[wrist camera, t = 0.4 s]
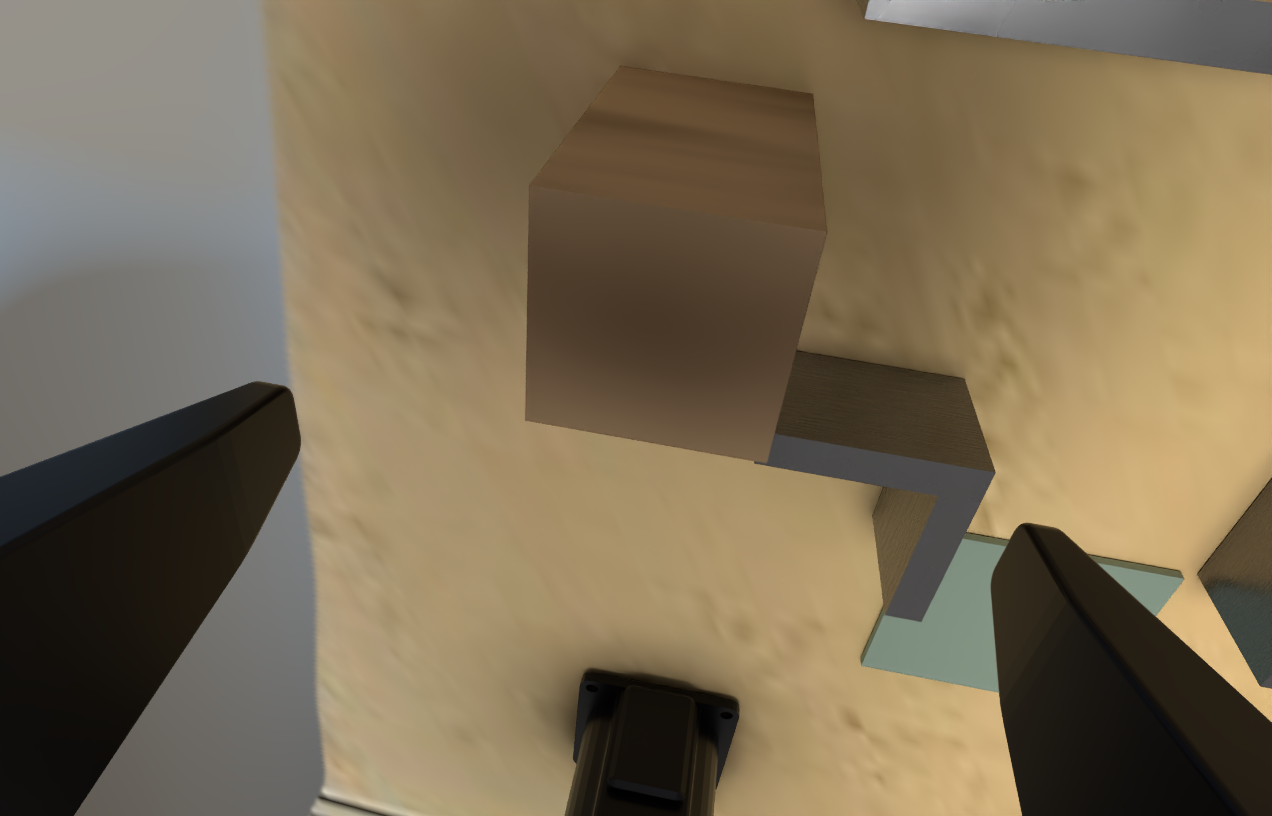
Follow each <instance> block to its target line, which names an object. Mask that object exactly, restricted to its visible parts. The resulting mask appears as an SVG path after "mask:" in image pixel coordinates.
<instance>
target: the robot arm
mask: <svg viewBox="0 0 1272 816" xmlns="http://www.w3.org/2000/svg"><path fill="white" fill-rule="evenodd" d="M300 446H301V436H300V430H299V424H298V419H297V413H296V408H295V402H294V397H293V394H292V392H291V391H290V389H289V388H287V387H286V386H283V385H277V384H271V383H266V382H260V381H258V382H257V381H256V382H252V383H249V384H246V385H243V386H241V387H238V388H235V389H233V390H230V391H228V392H225V393H222V394H220V395H217V396H214V397H212V398H209V399H206V400H204V401H201V402H198V403H196V404H193V405H190V406H188V407H185V408H182V409H180V410H177V411H174V412H172V413H169V414H166V415H164V416H161V417H158V418H156V419H153V420H151V421H148V422H145V423H142V424H140V425H137V426H134V427H132V428H129V429H126V430H124V431H121V432H118V433H116V434H113V435H110V436H108V437H105V438H102V439H100V440H97V441H95V442H92V443H89V444H86V445H84V446H81V447H79V448H76V449H73V450H70V451H68V452H65V453H63V454H60V455H57V456H54V457H52V458H49V459H46V460H44V461H41V462H38V463H36V464H33V465H31V466H28V467H25V468H23V469H20V470H17V471H14V472H12V473H9V474H7V475H4V476H1V477H0V816H74V815H75V813H76V812H77V810H78V809H79V807H80V806H81V804H82V802H83V801H84V800H85V798H86V797H87V795H88V794H89V792H90V791H91V789H92V788H93V786H94V785H95V783H96V782H97V780H98V778H99V777H100V775H101V774H102V773H103V771H104V770H105V768H106V766H107V765H108V764H109V762H110V760H111V759H112V758H113V756H114V754H115V753H116V752H117V750H118V749H119V747H120V745H121V744H122V742H123V741H124V739H125V738H126V736H127V735H128V733H129V732H130V730H131V729H132V727H133V726H134V724H135V723H136V721H137V720H138V718H139V717H140V715H141V714H142V712H143V711H144V709H145V708H146V706H147V705H148V703H149V702H150V700H151V699H152V697H153V696H154V694H155V693H156V691H157V690H158V688H159V686H160V685H161V684H162V682H163V681H164V679H165V678H166V676H167V675H168V673H169V672H170V670H171V669H172V667H173V666H174V664H175V663H176V661H177V660H178V658H179V657H180V655H181V654H182V652H183V651H184V649H185V648H186V646H187V645H188V643H189V642H190V640H191V639H192V637H193V636H194V634H195V633H196V631H197V630H198V628H199V627H200V625H201V624H202V622H203V621H204V619H205V618H206V616H207V615H208V613H209V612H210V610H211V609H212V607H213V606H214V604H215V603H216V601H217V600H218V598H219V597H220V595H221V594H222V592H223V590H224V589H225V588H226V586H227V585H228V583H229V582H230V580H231V579H232V577H233V576H234V574H235V572H236V571H237V569H238V568H239V566H240V565H241V563H242V561H243V560H244V558H245V557H246V555H247V553H248V552H249V550H250V548H251V546H252V544H253V543H254V541H255V539H256V537H257V535H258V533H259V531H260V529H261V527H262V526H263V523H264V522H265V520H266V518H267V516H268V514H269V512H270V510H271V508H272V506H273V504H274V502H275V500H276V498H277V496H278V494H279V492H280V490H281V488H282V487H283V485H284V483H285V481H286V479H287V477H288V475H289V473H290V471H291V469H292V467H293V465H294V463H295V461H296V459H297V457H298V454H299V451H300ZM990 588H991V602H992V615H993V627H994V639H995V652H996V664H997V676H998V688H999V697H1000V706H1001V711H1002V717H1003V723H1004V728H1005V733H1006V738H1007V743H1008V748H1009V753H1010V758H1011V763H1012V768H1013V772H1014V777H1015V782H1016V787H1017V792H1018V797H1019V802H1020V807H1021V812H1022V816H1272V722H1271V721H1270V720H1269V719H1267V718H1266V717H1265V716H1264V715H1263V714H1262V713H1261V712H1260V711H1259V710H1258V709H1256V708H1255V707H1254V706H1253V705H1252V704H1251V703H1250V702H1249V701H1248V700H1247V699H1246V698H1244V697H1243V696H1242V695H1241V694H1240V693H1239V692H1238V691H1237V690H1236V689H1235V688H1233V687H1232V686H1231V685H1230V684H1229V683H1228V682H1227V681H1226V680H1225V679H1224V678H1223V677H1221V676H1220V675H1219V674H1218V673H1217V672H1216V671H1215V670H1214V669H1213V668H1212V667H1210V666H1209V665H1208V664H1207V663H1206V662H1205V661H1204V660H1203V659H1202V658H1201V657H1200V656H1198V655H1197V654H1196V653H1195V652H1194V651H1193V650H1192V649H1191V648H1190V647H1189V646H1187V645H1186V644H1185V643H1184V642H1183V641H1182V640H1181V639H1180V638H1179V637H1178V636H1176V635H1175V634H1174V633H1173V632H1172V631H1171V630H1170V629H1169V628H1168V627H1167V626H1166V625H1164V624H1163V623H1162V622H1161V621H1160V620H1159V619H1158V618H1157V617H1156V616H1155V615H1153V614H1152V613H1151V612H1150V611H1149V610H1148V609H1147V608H1146V607H1145V606H1144V605H1143V604H1141V603H1140V602H1139V601H1138V600H1137V599H1136V598H1135V597H1134V596H1133V595H1132V594H1130V593H1129V592H1128V591H1127V590H1126V589H1125V588H1124V587H1123V586H1122V585H1121V584H1120V583H1118V582H1117V581H1116V580H1115V579H1114V578H1113V577H1112V576H1111V575H1110V574H1109V573H1107V572H1106V571H1105V570H1104V569H1103V568H1102V567H1101V566H1100V565H1099V564H1098V563H1097V562H1095V561H1094V560H1093V559H1092V558H1091V557H1090V556H1089V555H1088V554H1087V553H1086V552H1084V551H1083V550H1082V549H1081V548H1080V547H1079V546H1078V545H1077V544H1076V543H1075V542H1073V541H1072V540H1071V539H1070V538H1069V537H1068V536H1067V535H1066V534H1065V533H1063V532H1062V531H1061V530H1059V529H1057V528H1054V527H1049V526H1044V525H1038V524H1033V523H1023V524H1021V525H1019V526H1018V527H1017V528H1016V530H1015V531H1014V533H1013V535H1012V537H1011V538H1010V540H1009V542H1008V544H1007V546H1006V548H1005V550H1004V551H1003V553H1002V555H1001V557H1000V559H999V561H998V562H997V564H996V566H995V568H994V571H993V574H992V578H991V586H990ZM738 719H739V705H738V704H737V703H736V702H735V701H732V700H729V699H724V698H719V697H714V696H709V695H704V694H699V693H694V692H689V691H684V690H679V689H674V688H669V687H664V686H659V685H654V684H649V683H644V682H639V681H634V680H629V679H624V678H619V677H614V676H609V675H604V674H599V673H593V672H589V673H585V674H584V675H583V676H582V679H581V683H580V689H579V700H578V710H577V721H576V731H575V742H574V753H573V760H574V762H575V763H576V768H575V773H574V777H573V781H572V786H571V790H570V794H569V799H568V803H567V807H566V812H565V816H713V814H714V801H715V790H716V789H717V786H718V783H719V780H720V777H721V773H722V770H723V767H724V764H725V761H726V758H727V754H728V751H729V748H730V745H731V742H732V738H733V735H734V732H735V729H736V726H737V722H738Z"/></svg>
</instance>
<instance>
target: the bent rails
mask: <svg viewBox="0 0 1272 816" xmlns="http://www.w3.org/2000/svg"><path fill="white" fill-rule="evenodd" d="M856 1H857V3H858V5H859V8H860V10H861V12H862V14H863V17H864V19H869V20H877V21H884V22H891V23H898V24H906V25H913V26H920V27H928V28H935V29H942V30H950V31H957V32H964V33H971V34H979V35H986V36H993V37H1001V38H1008V39H1015V40H1022V41H1030V42H1037V43H1044V44H1052V45H1059V46H1066V47H1074V48H1081V49H1088V50H1095V51H1103V52H1110V53H1117V54H1125V55H1132V56H1139V57H1147V58H1154V59H1161V60H1168V61H1176V62H1183V63H1190V64H1198V65H1205V66H1212V67H1220V68H1227V69H1234V70H1241V71H1249V72H1256V73H1263V74H1271V75H1272V0H856ZM754 463H755V464H761V465H766V466H772V467H777V468H783V469H789V470H794V471H800V472H805V473H811V474H817V475H822V476H828V477H834V478H839V479H845V480H850V481H856V482H862V483H867V484H873V485H878V486H884V488H883V490H882V493H881V495H880V498H879V500H878V503H877V506H876V508H875V511H874V513H873V524H874V532H875V540H876V548H877V556H878V564H879V572H880V580H881V587H882V595H883V603H884V611H885V615H886V616H892V617H897V618H902V619H908V620H913V621H918V622H922V620H923V618H924V616H925V614H926V612H927V610H928V608H929V606H930V604H931V602H932V600H933V598H934V596H935V594H936V592H937V590H938V588H939V586H940V584H941V582H942V580H943V578H944V576H945V574H946V572H947V570H948V567H949V565H950V563H951V561H952V559H953V557H954V555H955V553H956V551H957V549H958V547H959V545H960V543H961V541H962V539H963V537H964V535H965V533H966V531H967V529H968V527H969V525H970V523H971V521H972V519H973V517H974V515H975V513H976V511H977V509H978V507H979V505H980V503H981V501H982V499H983V497H984V495H985V493H986V491H987V489H988V487H989V485H990V483H991V481H992V479H993V477H994V475H995V473H996V472H995V469H994V466H993V463H992V460H991V457H990V454H989V451H988V448H987V445H986V442H985V439H984V436H983V433H982V430H981V427H980V424H979V421H978V418H977V415H976V412H975V409H974V406H973V403H972V400H971V397H970V394H969V391H968V388H967V385H966V382H965V379H961V378H955V377H949V376H943V375H937V374H931V373H925V372H919V371H913V370H907V369H901V368H895V367H889V366H883V365H877V364H871V363H865V362H859V361H853V360H847V359H841V358H835V357H829V356H823V355H817V354H811V353H805V352H799V351H796V353H795V357H794V361H793V365H792V368H791V372H790V376H789V380H788V384H787V388H786V391H785V395H784V399H783V403H782V407H781V411H780V414H779V418H778V422H777V426H776V430H775V433H774V437H773V441H772V445H771V449H770V453H769V456H768V460H767V463H762V462H756V461H754ZM1197 575H1198V577H1199V579H1200V580H1201V582H1202V584H1203V586H1204V588H1205V589H1206V591H1207V593H1208V595H1209V596H1210V598H1211V600H1212V602H1213V603H1214V605H1215V607H1216V609H1217V611H1218V612H1219V614H1220V616H1221V618H1222V619H1223V621H1224V623H1225V625H1226V627H1227V628H1228V630H1229V632H1230V634H1231V635H1232V637H1233V639H1234V641H1235V643H1236V644H1237V646H1238V648H1239V650H1240V651H1241V653H1242V655H1243V657H1244V659H1245V660H1246V662H1247V664H1248V666H1249V667H1250V669H1251V671H1252V673H1253V675H1254V676H1255V678H1256V680H1257V682H1258V683H1259V685H1260V686H1261V687H1266V688H1272V480H1271V481H1270V482H1269V484H1268V485H1267V486H1266V487H1265V489H1264V490H1263V491H1262V492H1261V494H1260V495H1259V496H1258V498H1257V499H1256V500H1255V501H1254V503H1253V504H1252V505H1251V507H1250V508H1249V509H1248V510H1247V512H1246V513H1245V514H1244V516H1243V517H1242V518H1241V519H1240V521H1239V522H1238V523H1237V524H1236V526H1235V527H1234V528H1233V530H1232V531H1231V532H1230V533H1229V535H1228V536H1227V537H1226V539H1225V540H1224V541H1223V542H1222V544H1221V545H1220V546H1219V547H1218V549H1217V550H1216V551H1215V553H1214V554H1213V555H1212V556H1211V558H1210V559H1209V560H1208V562H1207V563H1206V564H1205V565H1204V567H1203V568H1202V569H1201V571H1200V572H1199V573H1198V574H1197Z"/></svg>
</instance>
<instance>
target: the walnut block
mask: <svg viewBox="0 0 1272 816" xmlns="http://www.w3.org/2000/svg"><path fill="white" fill-rule="evenodd" d="M826 234H827V225H826V216H825V206H824V196H823V186H822V176H821V167H820V157H819V147H818V137H817V128H816V118H815V108H814V98H813V94H810V93H803V92H796V91H790V90H783V89H776V88H769V87H762V86H755V85H748V84H741V83H734V82H727V81H720V80H713V79H706V78H699V77H692V76H686V75H679V74H672V73H665V72H658V71H651V70H644V69H637V68H630V67H623V66H620V67H619V69H618V70H617V71H616V73H615V74H614V75H613V77H612V78H611V79H610V81H609V82H608V83H607V85H606V86H605V87H604V88H603V90H602V91H601V92H600V94H599V95H598V96H597V98H596V99H595V100H594V102H593V103H592V104H591V105H590V107H589V108H588V109H587V111H586V112H585V113H584V115H583V116H582V117H581V119H580V120H579V121H578V122H577V124H576V125H575V126H574V128H573V129H572V130H571V132H570V133H569V134H568V136H567V137H566V138H565V139H564V141H563V142H562V143H561V145H560V146H559V147H558V149H557V150H556V151H555V153H554V154H553V155H552V156H551V158H550V159H549V160H548V162H547V163H546V164H545V166H544V167H543V168H542V170H541V171H540V172H539V173H538V175H537V176H536V177H535V179H534V180H533V181H532V183H531V184H530V185H529V234H528V292H527V350H526V409H525V421H531V422H536V423H542V424H548V425H553V426H559V427H565V428H570V429H576V430H582V431H587V432H593V433H598V434H604V435H610V436H615V437H621V438H627V439H632V440H638V441H644V442H649V443H655V444H661V445H666V446H672V447H677V448H683V449H689V450H694V451H700V452H706V453H711V454H717V455H723V456H728V457H734V458H740V459H745V460H751V461H756V462H762V463H767V460H768V456H769V453H770V449H771V445H772V441H773V437H774V433H775V430H776V426H777V422H778V418H779V414H780V411H781V407H782V403H783V399H784V395H785V391H786V388H787V384H788V380H789V376H790V372H791V368H792V365H793V361H794V357H795V353H796V349H797V345H798V342H799V338H800V334H801V330H802V326H803V322H804V319H805V315H806V311H807V307H808V303H809V300H810V296H811V292H812V288H813V284H814V280H815V277H816V273H817V269H818V265H819V261H820V257H821V254H822V250H823V246H824V242H825V238H826Z"/></svg>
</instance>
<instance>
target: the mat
mask: <svg viewBox="0 0 1272 816" xmlns="http://www.w3.org/2000/svg"><path fill="white" fill-rule="evenodd" d="M1008 542H1009V541H1008V540H1003V539H997V538H992V537H986V536H981V535H975V534H970V533H965V535H964V537H963V539H962V541H961V543H960V545H959V547H958V549H957V551H956V553H955V555H954V557H953V559H952V561H951V563H950V565H949V567H948V570H947V572H946V574H945V576H944V578H943V580H942V582H941V584H940V586H939V588H938V590H937V592H936V594H935V596H934V598H933V600H932V602H931V604H930V606H929V608H928V610H927V612H926V614H925V616H924V618H923V620H922V622H918V621H913V620H908V619H902V618H897V617H892V616H886V615H885V611H884V607H883V609H882V612H881V614H880V616H879V618H878V621H877V623H876V625H875V627H874V630H873V632H872V634H871V637H870V639H869V641H868V643H867V646H866V648H865V650H864V652H863V655H862V657H861V666H865V667H870V668H875V669H880V670H885V671H890V672H896V673H901V674H906V675H911V676H916V677H921V678H926V679H932V680H937V681H942V682H947V683H952V684H957V685H963V686H968V687H973V688H978V689H983V690H988V691H993V692H999V688H998V676H997V664H996V652H995V639H994V627H993V615H992V602H991V588H990V586H991V578H992V574H993V571H994V568H995V566H996V564H997V562H998V561H999V559H1000V557H1001V555H1002V553H1003V551H1004V550H1005V548H1006V546H1007V544H1008ZM1089 556H1090V557H1091V558H1092V559H1093V560H1094V561H1095V562H1097V563H1098V564H1099V565H1100V566H1101V567H1102V568H1103V569H1104V570H1105V571H1106V572H1107V573H1109V574H1110V575H1111V576H1112V577H1113V578H1114V579H1115V580H1116V581H1117V582H1118V583H1120V584H1121V585H1122V586H1123V587H1124V588H1125V589H1126V590H1127V591H1128V592H1129V593H1130V594H1132V595H1133V596H1134V597H1135V598H1136V599H1137V600H1138V601H1139V602H1140V603H1141V604H1143V605H1144V606H1145V607H1146V608H1147V609H1148V610H1149V611H1150V612H1151V613H1152V614H1153V615H1155V616H1156V615H1157V614H1158V613H1159V611H1160V610H1161V609H1162V608H1163V606H1164V605H1165V604H1166V602H1167V601H1168V600H1169V598H1170V597H1171V596H1172V595H1173V593H1174V592H1175V591H1176V589H1177V588H1178V587H1179V585H1180V584H1181V583H1182V582H1183V580H1184V577H1183V575H1182V573H1181V572H1180V571H1174V570H1169V569H1163V568H1158V567H1152V566H1147V565H1141V564H1136V563H1130V562H1124V561H1119V560H1113V559H1108V558H1102V557H1097V556H1091V555H1089Z"/></svg>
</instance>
